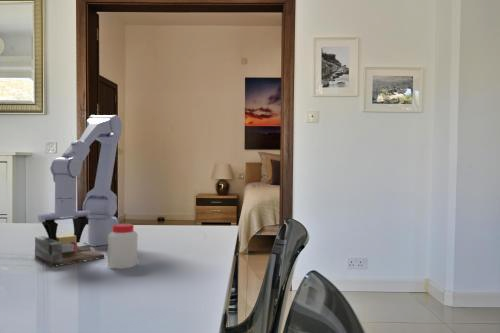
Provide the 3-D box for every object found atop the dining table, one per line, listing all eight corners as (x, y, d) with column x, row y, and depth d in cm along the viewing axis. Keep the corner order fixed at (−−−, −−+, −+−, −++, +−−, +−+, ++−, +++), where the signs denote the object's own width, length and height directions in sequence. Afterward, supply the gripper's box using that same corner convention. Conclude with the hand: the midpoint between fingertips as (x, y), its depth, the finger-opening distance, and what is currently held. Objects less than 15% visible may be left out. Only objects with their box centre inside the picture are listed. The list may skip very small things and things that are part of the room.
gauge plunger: (73, 250, 111) (73, 241, 111) (76, 251, 110) (77, 243, 110) (56, 252, 108) (56, 243, 108) (59, 254, 106) (59, 245, 106)
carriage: (70, 248, 119) (70, 233, 119) (76, 250, 117) (76, 235, 117) (53, 250, 116) (53, 235, 116) (58, 252, 113) (58, 238, 113)
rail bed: (84, 250, 124) (85, 231, 124) (104, 257, 115) (104, 237, 115) (34, 257, 113) (35, 237, 113) (52, 266, 105) (52, 244, 105)
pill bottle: (142, 263, 110) (143, 224, 110) (125, 270, 103) (126, 228, 103) (119, 260, 113) (120, 222, 113) (101, 267, 106) (101, 226, 105)
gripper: (83, 195, 124) (82, 238, 124) (34, 198, 113) (33, 245, 113) (94, 197, 120) (93, 241, 120) (44, 200, 109) (43, 249, 109)
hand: (65, 243), depth 116 cm, fingers open, 6 cm apart
